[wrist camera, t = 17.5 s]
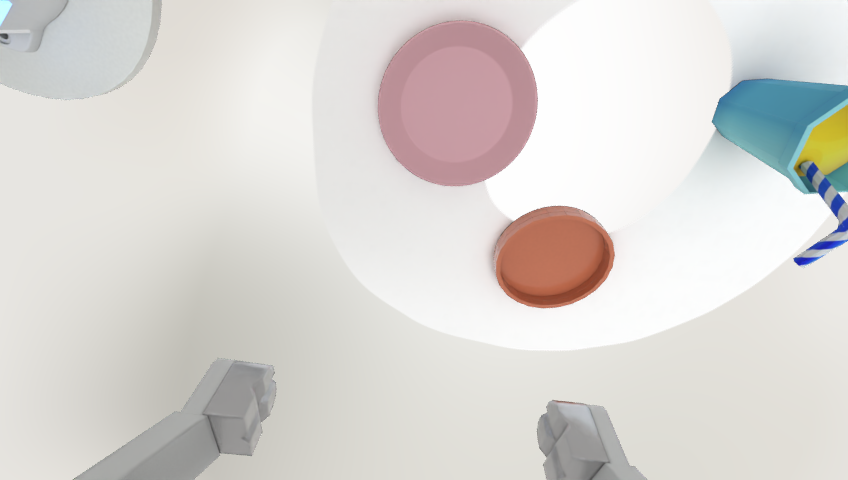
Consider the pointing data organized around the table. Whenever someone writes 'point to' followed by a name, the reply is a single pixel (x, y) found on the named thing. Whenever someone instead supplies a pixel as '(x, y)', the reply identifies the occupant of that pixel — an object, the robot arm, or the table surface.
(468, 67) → the plate
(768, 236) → the table surface
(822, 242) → the cup
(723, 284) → the table surface
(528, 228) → the bowl
